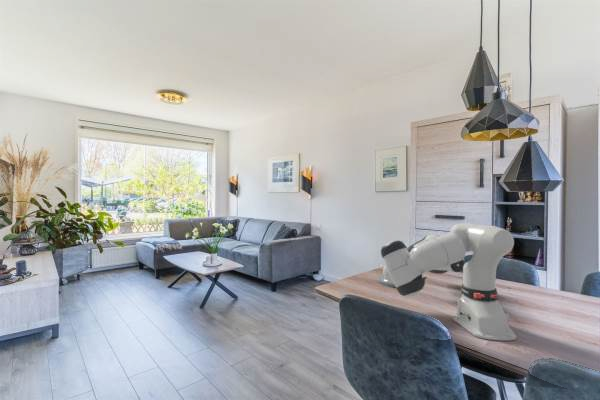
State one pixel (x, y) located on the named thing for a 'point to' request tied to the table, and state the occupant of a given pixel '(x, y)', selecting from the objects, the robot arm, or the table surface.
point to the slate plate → (385, 281)
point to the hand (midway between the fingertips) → (437, 252)
